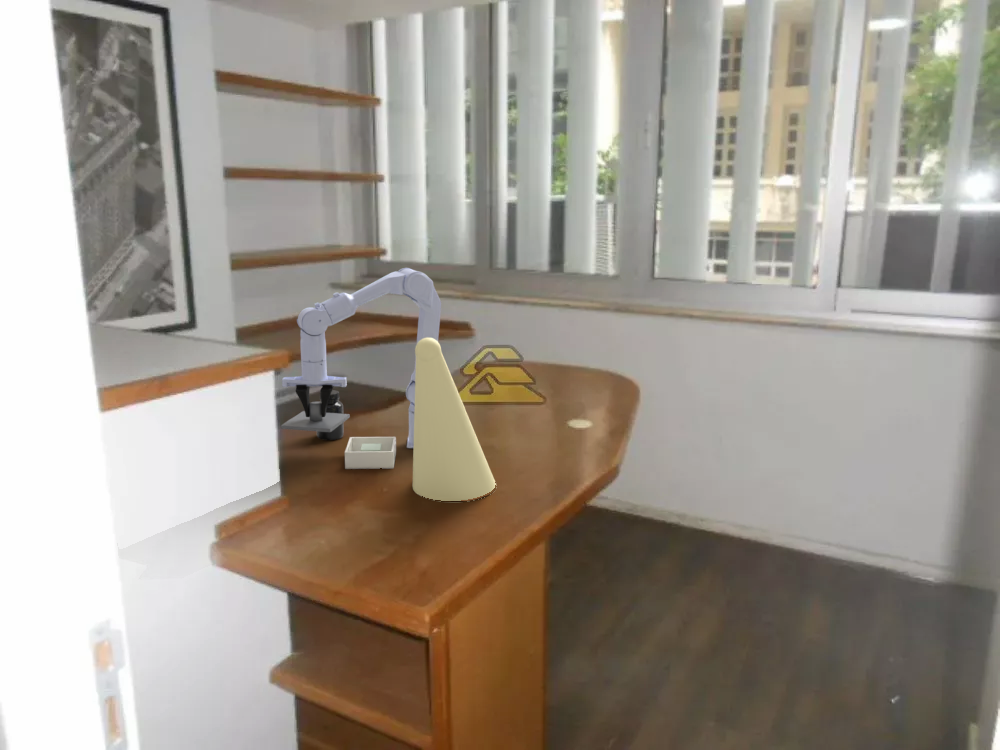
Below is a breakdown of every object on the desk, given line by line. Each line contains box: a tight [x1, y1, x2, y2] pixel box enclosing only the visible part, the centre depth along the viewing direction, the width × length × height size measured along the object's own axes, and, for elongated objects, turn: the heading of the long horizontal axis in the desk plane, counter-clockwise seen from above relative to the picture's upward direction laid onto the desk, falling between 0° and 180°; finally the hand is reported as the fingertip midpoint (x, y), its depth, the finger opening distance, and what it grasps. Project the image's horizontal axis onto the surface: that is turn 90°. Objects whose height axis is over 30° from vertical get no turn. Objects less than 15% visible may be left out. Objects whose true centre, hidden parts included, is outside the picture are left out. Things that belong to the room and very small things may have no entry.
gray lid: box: [280, 401, 351, 432], centre depth 178 cm, size 12×12×5 cm
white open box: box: [344, 436, 397, 470], centre depth 178 cm, size 11×11×4 cm
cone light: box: [412, 338, 497, 502], centre depth 157 cm, size 25×18×35 cm
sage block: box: [361, 444, 382, 451], centre depth 178 cm, size 4×4×3 cm
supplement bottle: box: [316, 389, 345, 441], centre depth 194 cm, size 7×7×12 cm
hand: (316, 415), depth 178 cm, fingers closed on gray lid, 3 cm apart
